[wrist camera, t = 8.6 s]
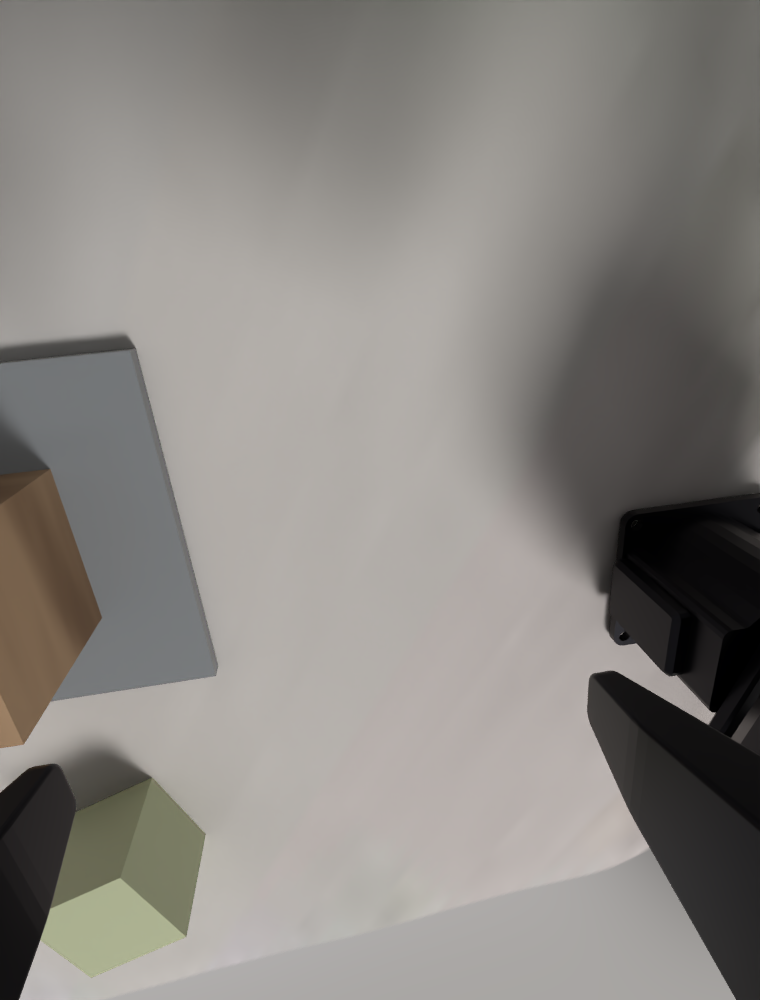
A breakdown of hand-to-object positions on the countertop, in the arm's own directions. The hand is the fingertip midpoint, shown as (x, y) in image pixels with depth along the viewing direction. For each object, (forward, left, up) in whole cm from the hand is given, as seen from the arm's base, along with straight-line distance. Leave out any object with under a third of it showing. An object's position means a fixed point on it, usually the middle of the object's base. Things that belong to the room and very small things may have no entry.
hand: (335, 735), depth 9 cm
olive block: (+11, +16, -12) cm, 23 cm away
